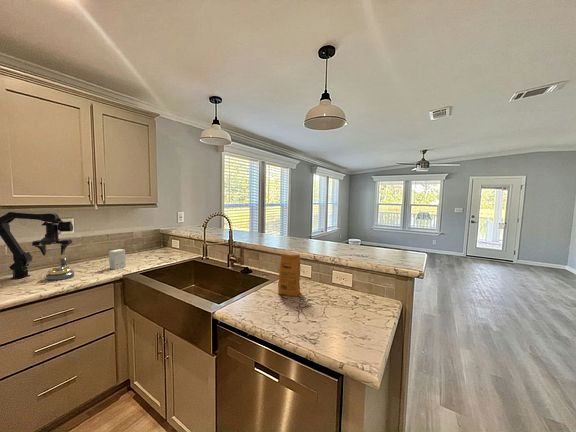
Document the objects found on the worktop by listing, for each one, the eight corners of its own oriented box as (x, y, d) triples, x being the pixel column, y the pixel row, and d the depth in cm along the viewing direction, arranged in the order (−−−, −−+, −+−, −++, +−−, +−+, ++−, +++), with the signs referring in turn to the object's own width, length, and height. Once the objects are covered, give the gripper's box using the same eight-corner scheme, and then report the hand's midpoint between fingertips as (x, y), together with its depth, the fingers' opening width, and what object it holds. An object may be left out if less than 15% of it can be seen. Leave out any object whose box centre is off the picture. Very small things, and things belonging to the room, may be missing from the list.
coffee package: (281, 288, 141) (282, 251, 140) (302, 291, 137) (302, 253, 136) (275, 294, 132) (275, 255, 130) (297, 297, 128) (297, 257, 126)
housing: (36, 281, 148) (36, 276, 148) (63, 272, 166) (63, 268, 166) (61, 281, 148) (60, 276, 148) (85, 272, 166) (85, 268, 166)
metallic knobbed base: (70, 273, 153) (69, 262, 152) (46, 276, 147) (45, 265, 146) (74, 267, 168) (74, 257, 167) (53, 269, 162) (52, 259, 161)
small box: (120, 265, 184) (119, 248, 183) (126, 266, 182) (125, 249, 181) (109, 268, 177) (108, 251, 176) (115, 269, 174) (114, 251, 174)
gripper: (25, 234, 149) (26, 259, 150) (63, 233, 155) (64, 257, 156) (37, 231, 160) (38, 255, 161) (72, 231, 166) (73, 253, 167)
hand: (53, 255), depth 161 cm, fingers open, 9 cm apart
